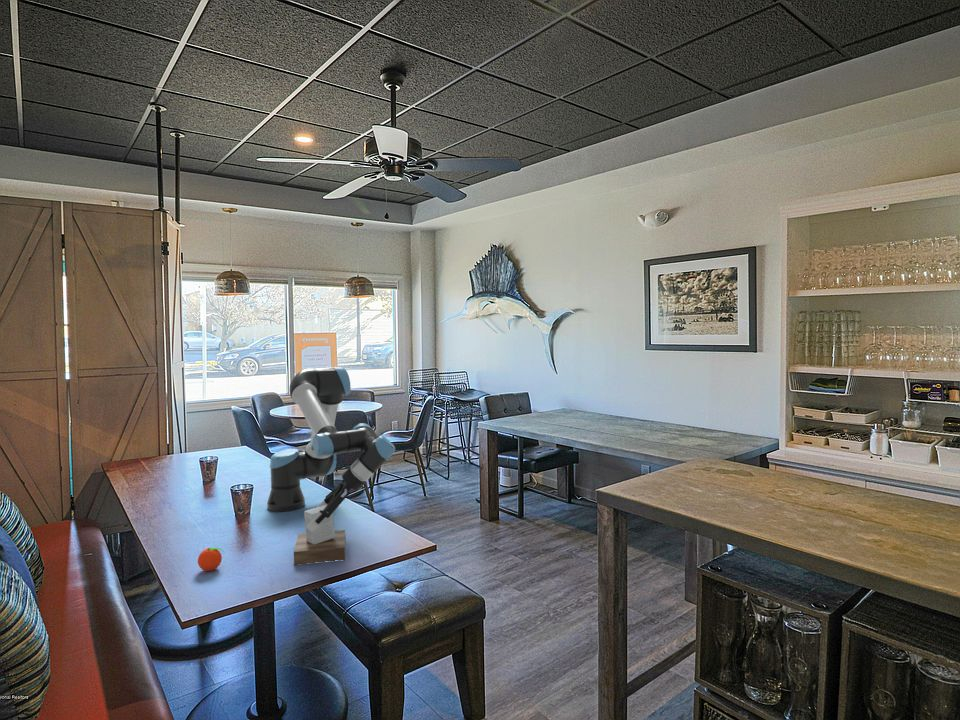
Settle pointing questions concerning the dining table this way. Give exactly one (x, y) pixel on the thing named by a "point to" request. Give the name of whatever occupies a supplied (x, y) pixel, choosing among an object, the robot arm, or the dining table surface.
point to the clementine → (210, 559)
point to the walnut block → (319, 549)
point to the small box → (323, 530)
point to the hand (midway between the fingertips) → (311, 523)
